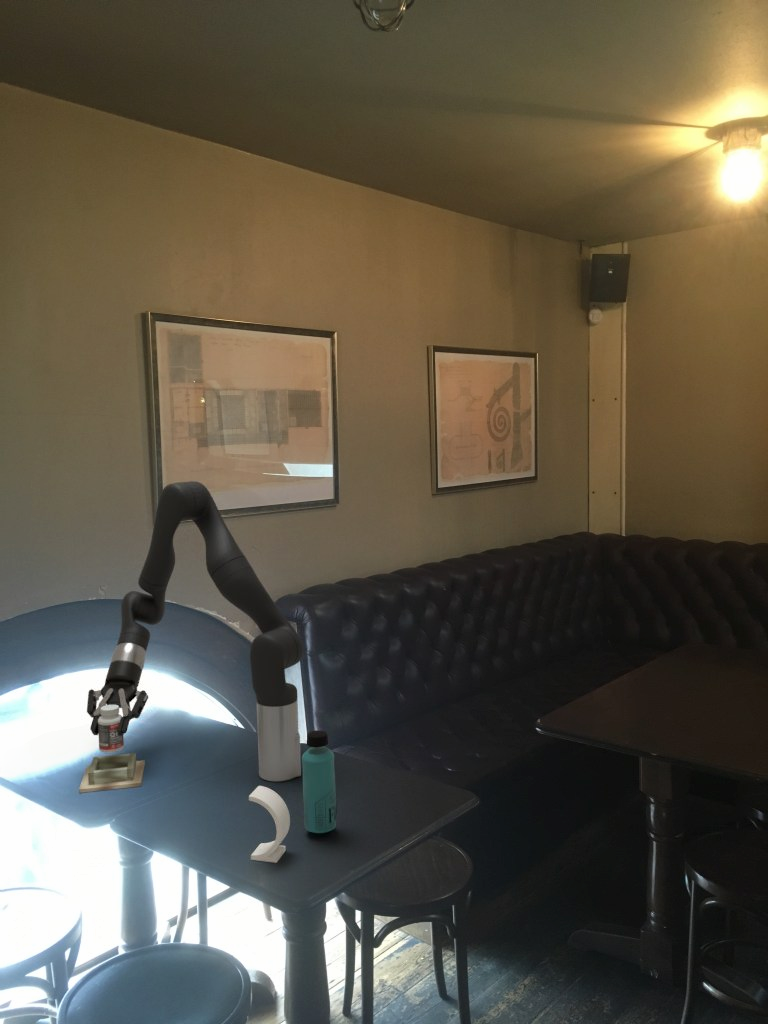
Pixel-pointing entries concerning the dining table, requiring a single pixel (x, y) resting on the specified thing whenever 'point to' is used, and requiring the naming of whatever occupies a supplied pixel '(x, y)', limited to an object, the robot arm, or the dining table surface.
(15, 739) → the dining table surface
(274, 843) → the headphone stand
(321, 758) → the beverage bottle
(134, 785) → the holder
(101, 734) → the pill bottle
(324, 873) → the dining table surface
